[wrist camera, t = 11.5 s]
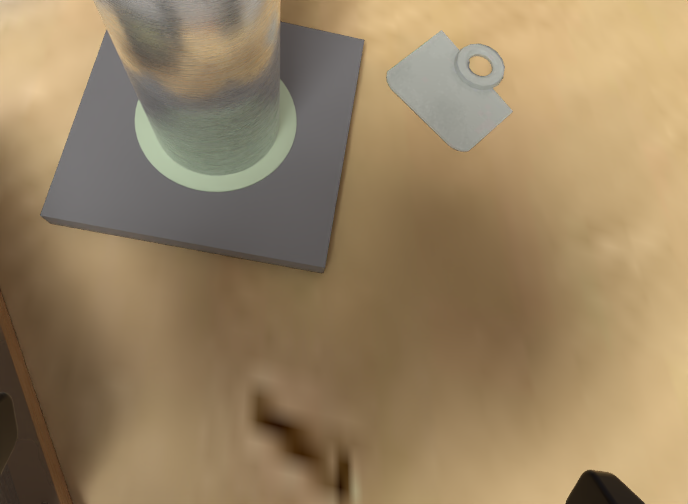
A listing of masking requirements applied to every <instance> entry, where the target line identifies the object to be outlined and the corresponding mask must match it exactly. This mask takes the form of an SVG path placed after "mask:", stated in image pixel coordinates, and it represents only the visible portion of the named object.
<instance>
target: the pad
mask: <svg viewBox="0 0 688 504" xmlns="http://www.w3.org/2000/svg"><path fill="white" fill-rule="evenodd" d="M363 45H364V40H363V39H358V38H353V37H349V36H344V35H340V34H335V33H330V32H326V31H321V30H317V29H312V28H308V27H303V26H298V25H294V24H289V23H285V22H280V116H279V131H278V135H277V138H276V140H275V142H274V145H273V146H272V148H271V149H270V151H269V152H268V153H267V154H266V156H265V157H264V158H262V159H261V160H260V161H259V162H258V163H256V164H255V165H253V166H252V167H250V168H248V169H246V170H244V171H241V172H238V173H234V174H230V175H221V176H212V175H204V174H200V173H196V172H193V171H190V170H188V169H186V168H184V167H182V166H180V165H179V164H177V163H176V162H175V161H173V160H172V159H171V158H170V157H169V156H168V155H167V154H166V153H165V151H164V150H163V149H162V147H161V146H160V144H159V142H158V140H157V138H156V136H155V133H154V131H153V129H152V127H151V125H150V122H149V120H148V118H147V116H146V114H145V112H144V109H143V107H142V105H141V103H140V101H139V98H138V96H137V94H136V92H135V90H134V88H133V85H132V83H131V81H130V79H129V77H128V74H127V72H126V70H125V68H124V66H123V63H122V61H121V59H120V57H119V55H118V53H117V50H116V48H115V46H114V44H113V42H112V39H111V37H110V35H109V33H108V31H107V30H106V33H105V36H104V38H103V41H102V44H101V47H100V50H99V52H98V55H97V58H96V61H95V63H94V66H93V69H92V72H91V75H90V77H89V80H88V83H87V86H86V89H85V91H84V94H83V97H82V100H81V103H80V105H79V108H78V111H77V114H76V117H75V119H74V122H73V125H72V128H71V130H70V133H69V136H68V139H67V142H66V144H65V147H64V150H63V153H62V156H61V158H60V161H59V164H58V167H57V170H56V172H55V175H54V178H53V181H52V183H51V186H50V189H49V192H48V195H47V197H46V200H45V203H44V206H43V209H42V211H41V214H40V216H41V217H43V218H44V219H45V220H46V221H48V222H49V223H50V224H56V225H61V226H67V227H72V228H78V229H83V230H89V231H94V232H100V233H105V234H111V235H116V236H122V237H127V238H133V239H138V240H144V241H149V242H155V243H160V244H165V245H171V246H176V247H182V248H187V249H193V250H198V251H204V252H209V253H215V254H220V255H226V256H231V257H237V258H242V259H248V260H253V261H259V262H264V263H270V264H275V265H281V266H286V267H292V268H297V269H303V270H308V271H313V272H319V273H323V272H324V269H325V265H326V259H327V253H328V248H329V242H330V236H331V230H332V224H333V219H334V213H335V207H336V201H337V195H338V190H339V184H340V178H341V172H342V166H343V161H344V155H345V149H346V143H347V137H348V132H349V126H350V120H351V114H352V108H353V103H354V97H355V91H356V85H357V79H358V74H359V68H360V62H361V56H362V50H363Z"/></svg>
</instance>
